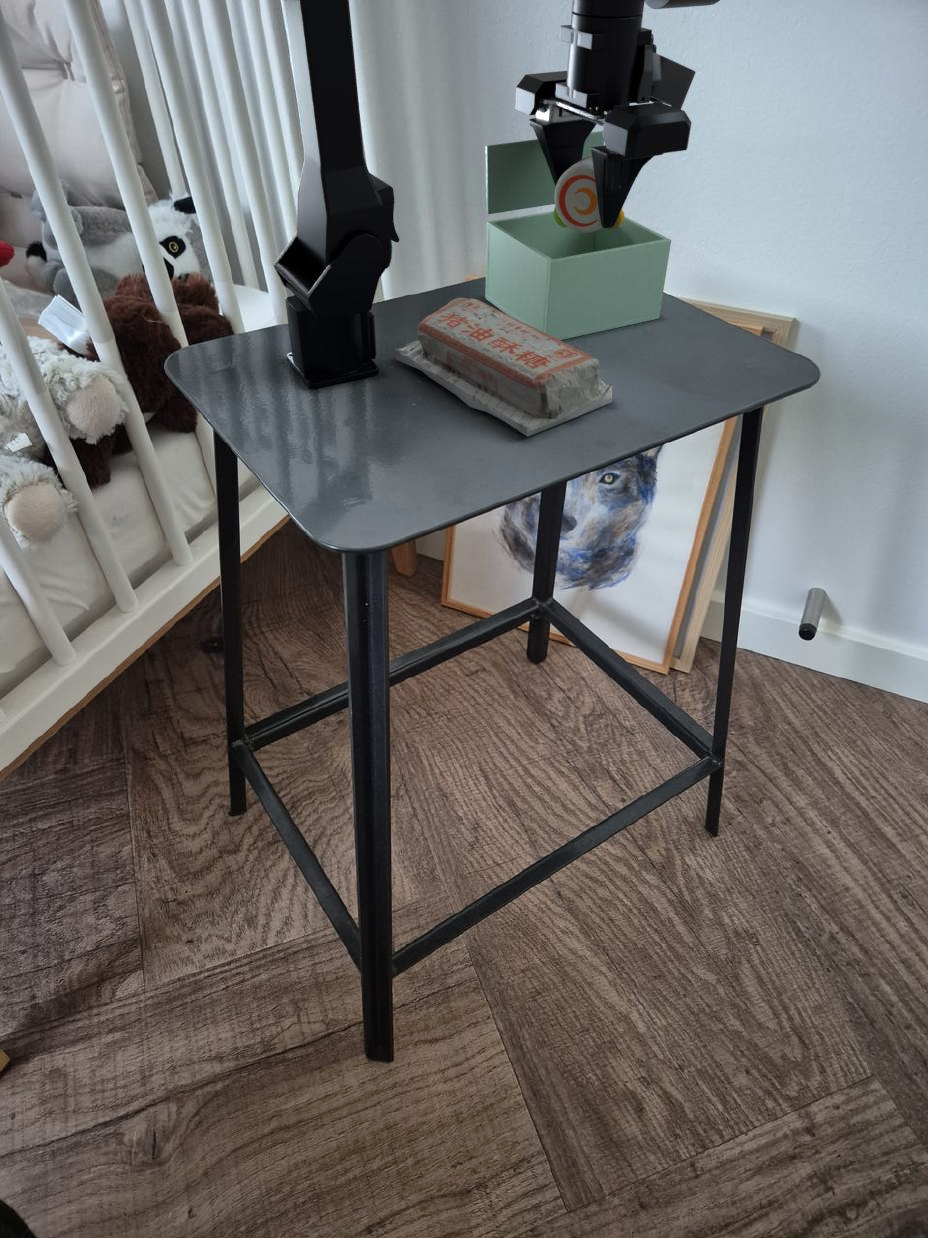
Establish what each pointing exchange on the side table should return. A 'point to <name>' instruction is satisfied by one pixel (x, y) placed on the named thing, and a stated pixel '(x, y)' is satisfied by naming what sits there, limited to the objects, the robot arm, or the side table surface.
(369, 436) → the side table surface
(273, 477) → the side table surface
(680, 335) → the side table surface
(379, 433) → the side table surface
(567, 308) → the pale green hollow box
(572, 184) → the roller toy
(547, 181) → the green box lid
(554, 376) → the packaged product
